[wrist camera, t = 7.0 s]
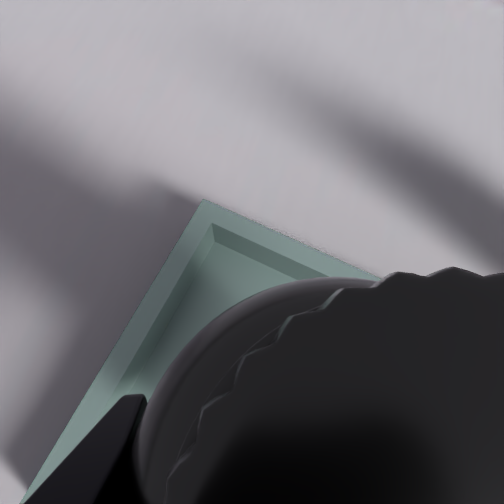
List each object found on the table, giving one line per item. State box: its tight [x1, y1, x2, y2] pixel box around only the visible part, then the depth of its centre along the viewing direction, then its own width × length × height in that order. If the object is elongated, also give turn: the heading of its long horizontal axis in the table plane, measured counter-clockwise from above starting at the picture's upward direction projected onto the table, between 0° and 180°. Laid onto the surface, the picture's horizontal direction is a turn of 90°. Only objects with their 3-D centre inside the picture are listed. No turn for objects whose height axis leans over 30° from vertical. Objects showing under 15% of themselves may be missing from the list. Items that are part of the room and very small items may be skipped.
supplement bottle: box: [121, 267, 504, 504], centre depth 8 cm, size 7×7×12 cm
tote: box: [20, 199, 381, 504], centre depth 18 cm, size 16×16×4 cm
